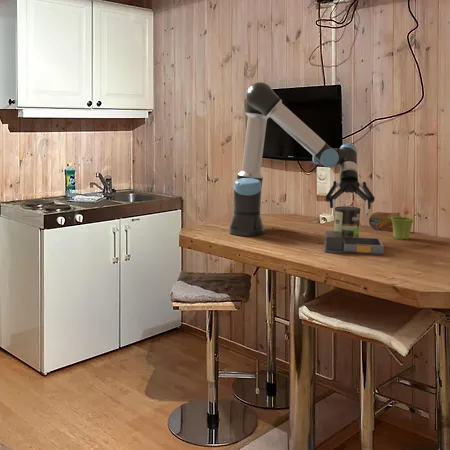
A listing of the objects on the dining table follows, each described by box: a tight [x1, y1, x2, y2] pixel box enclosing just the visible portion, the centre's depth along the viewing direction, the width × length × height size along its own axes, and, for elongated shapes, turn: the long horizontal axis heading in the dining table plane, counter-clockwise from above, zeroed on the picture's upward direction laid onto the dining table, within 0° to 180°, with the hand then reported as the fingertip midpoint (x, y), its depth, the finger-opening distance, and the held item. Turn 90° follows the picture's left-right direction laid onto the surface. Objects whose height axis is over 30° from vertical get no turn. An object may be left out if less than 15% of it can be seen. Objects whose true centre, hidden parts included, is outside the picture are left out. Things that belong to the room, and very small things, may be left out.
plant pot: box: [391, 216, 415, 241], centre depth 249 cm, size 9×9×9 cm
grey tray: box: [323, 230, 385, 256], centre depth 225 cm, size 21×15×6 cm
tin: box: [368, 211, 402, 232], centre depth 268 cm, size 15×3×8 cm, turn 69°
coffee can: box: [333, 205, 362, 238], centre depth 239 cm, size 10×10×14 cm
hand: (350, 214), depth 243 cm, fingers open, 13 cm apart
